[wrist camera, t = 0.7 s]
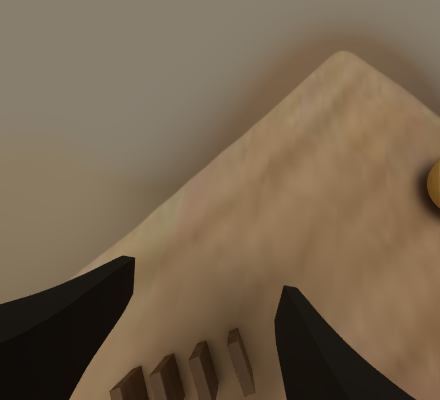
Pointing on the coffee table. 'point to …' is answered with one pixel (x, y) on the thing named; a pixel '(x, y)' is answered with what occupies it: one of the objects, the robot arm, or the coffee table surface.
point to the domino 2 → (167, 380)
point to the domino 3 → (203, 372)
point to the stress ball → (434, 183)
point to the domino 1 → (130, 387)
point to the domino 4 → (241, 362)
